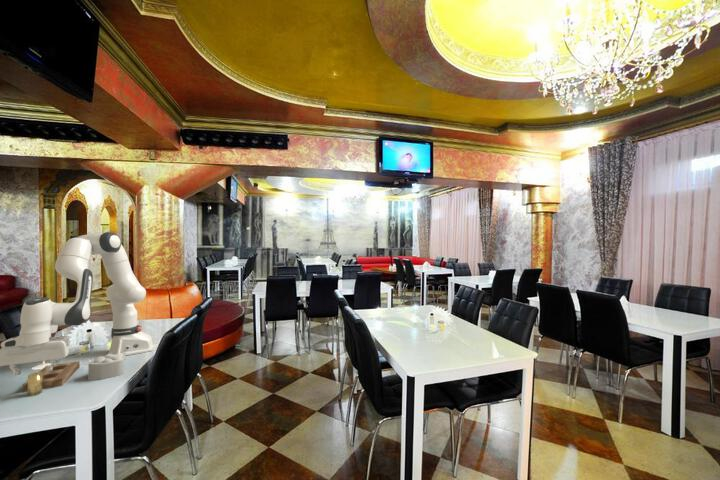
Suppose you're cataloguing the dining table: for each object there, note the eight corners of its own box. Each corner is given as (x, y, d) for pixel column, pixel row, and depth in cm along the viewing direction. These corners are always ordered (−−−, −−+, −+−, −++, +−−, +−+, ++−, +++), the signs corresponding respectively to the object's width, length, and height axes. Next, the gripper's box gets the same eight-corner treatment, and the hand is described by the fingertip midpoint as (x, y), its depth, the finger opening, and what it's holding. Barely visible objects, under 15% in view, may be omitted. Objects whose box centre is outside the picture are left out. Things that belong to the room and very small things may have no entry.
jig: (79, 367, 147) (79, 361, 147) (62, 385, 128) (62, 378, 128) (45, 372, 141) (46, 365, 141) (22, 392, 122) (22, 384, 122)
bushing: (44, 390, 124) (44, 371, 124) (39, 394, 120) (39, 374, 120) (30, 392, 122) (30, 373, 122) (25, 397, 118) (25, 376, 118)
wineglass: (29, 366, 147) (31, 322, 148) (57, 361, 154) (58, 318, 155) (29, 371, 141) (30, 325, 142) (57, 365, 148) (58, 322, 149)
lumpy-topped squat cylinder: (124, 375, 139) (124, 356, 139) (86, 382, 131) (87, 363, 131) (124, 367, 147) (125, 350, 147) (89, 374, 139) (90, 356, 139)
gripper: (72, 333, 129) (70, 365, 128) (4, 339, 119) (2, 374, 119) (66, 337, 123) (64, 370, 123) (-6, 344, 114) (-8, 380, 113)
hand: (33, 372), depth 121 cm, fingers open, 8 cm apart
